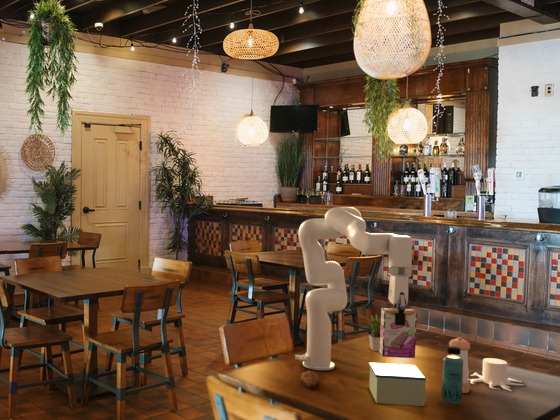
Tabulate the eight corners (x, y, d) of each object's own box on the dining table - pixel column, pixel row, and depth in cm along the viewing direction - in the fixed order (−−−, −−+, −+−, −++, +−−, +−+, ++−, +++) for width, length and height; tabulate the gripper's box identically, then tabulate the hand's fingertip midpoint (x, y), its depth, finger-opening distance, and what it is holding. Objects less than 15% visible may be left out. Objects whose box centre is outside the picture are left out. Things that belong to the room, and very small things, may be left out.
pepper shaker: (473, 392, 232) (475, 340, 231) (453, 393, 231) (455, 340, 230) (462, 386, 239) (464, 335, 238) (443, 386, 238) (445, 335, 237)
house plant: (390, 356, 279) (391, 319, 278) (357, 351, 286) (359, 315, 285) (397, 349, 291) (398, 313, 290) (365, 344, 298) (366, 309, 297)
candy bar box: (382, 357, 224) (383, 310, 223) (379, 353, 229) (380, 307, 228) (416, 358, 222) (417, 311, 222) (411, 354, 227) (413, 308, 227)
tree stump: (534, 385, 241) (535, 363, 241) (503, 393, 232) (504, 371, 231) (483, 371, 259) (484, 351, 258) (453, 378, 249) (454, 357, 248)
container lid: (375, 377, 219) (375, 375, 219) (368, 364, 235) (368, 362, 235) (425, 380, 217) (425, 377, 217) (415, 367, 232) (415, 364, 232)
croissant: (298, 377, 247) (298, 364, 247) (316, 378, 246) (316, 365, 246) (302, 389, 233) (302, 375, 233) (321, 390, 233) (321, 376, 233)
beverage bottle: (437, 402, 221) (439, 344, 220) (455, 401, 222) (457, 344, 221) (447, 408, 215) (449, 349, 214) (466, 408, 215) (468, 349, 215)
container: (376, 403, 220) (377, 377, 219) (369, 388, 235) (370, 364, 235) (424, 406, 217) (425, 380, 217) (414, 391, 233) (415, 367, 232)
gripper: (384, 267, 233) (382, 317, 234) (393, 274, 216) (391, 328, 217) (406, 268, 232) (404, 318, 233) (416, 275, 215) (415, 329, 216)
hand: (398, 322), depth 225 cm, fingers closed on candy bar box, 5 cm apart
